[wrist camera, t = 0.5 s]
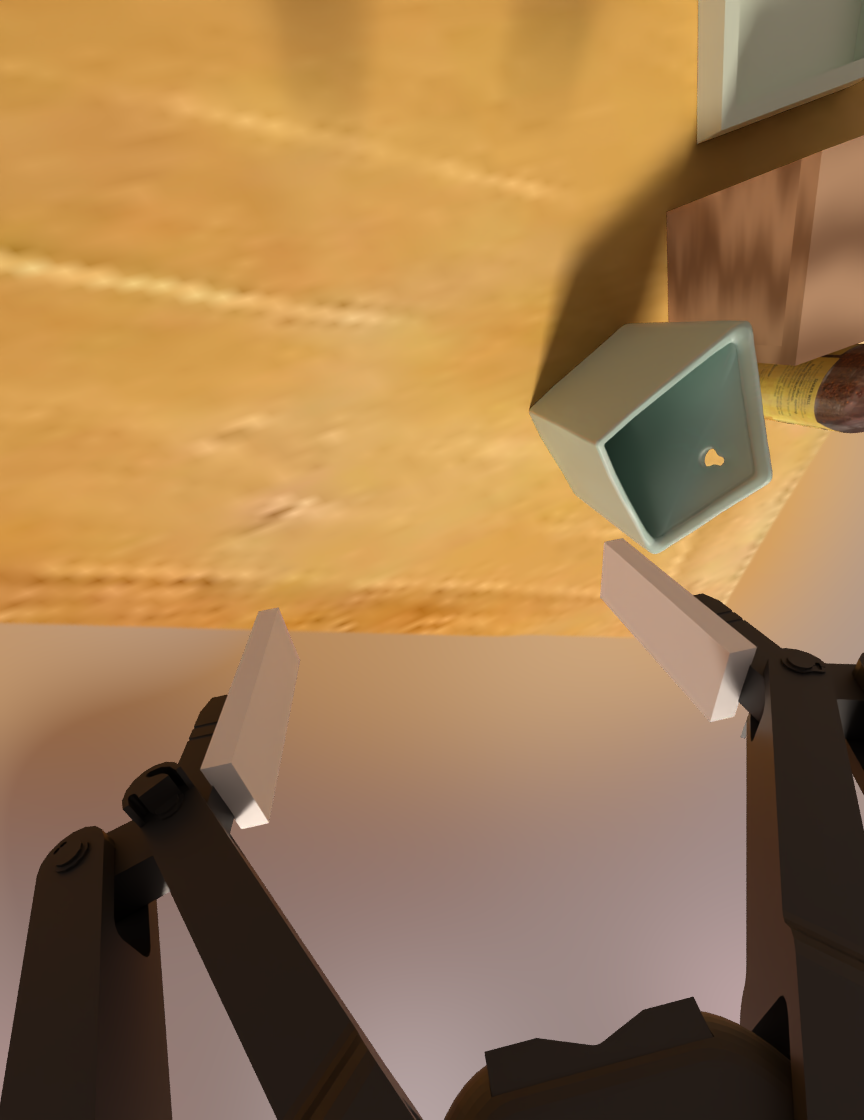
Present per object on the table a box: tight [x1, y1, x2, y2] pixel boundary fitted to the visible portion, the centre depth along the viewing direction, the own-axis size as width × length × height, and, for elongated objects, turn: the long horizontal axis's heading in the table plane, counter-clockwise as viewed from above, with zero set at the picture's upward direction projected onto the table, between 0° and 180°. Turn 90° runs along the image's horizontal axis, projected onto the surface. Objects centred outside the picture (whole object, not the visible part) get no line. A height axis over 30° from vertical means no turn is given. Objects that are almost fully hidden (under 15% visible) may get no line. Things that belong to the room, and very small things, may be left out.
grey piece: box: [529, 320, 772, 554], centre depth 32 cm, size 16×8×20 cm, turn 174°
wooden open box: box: [667, 135, 864, 366], centre depth 30 cm, size 11×17×13 cm, turn 108°
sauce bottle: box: [757, 344, 864, 433], centre depth 33 cm, size 7×6×20 cm
